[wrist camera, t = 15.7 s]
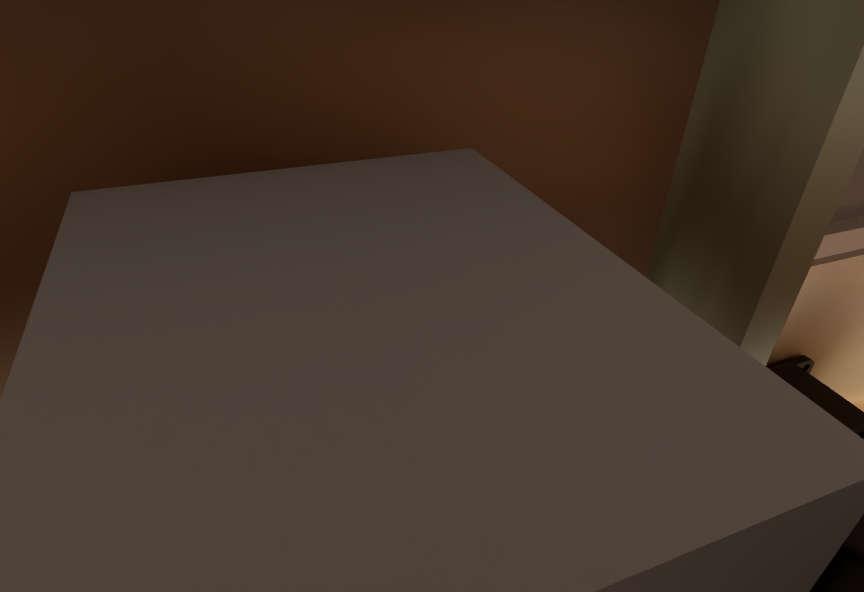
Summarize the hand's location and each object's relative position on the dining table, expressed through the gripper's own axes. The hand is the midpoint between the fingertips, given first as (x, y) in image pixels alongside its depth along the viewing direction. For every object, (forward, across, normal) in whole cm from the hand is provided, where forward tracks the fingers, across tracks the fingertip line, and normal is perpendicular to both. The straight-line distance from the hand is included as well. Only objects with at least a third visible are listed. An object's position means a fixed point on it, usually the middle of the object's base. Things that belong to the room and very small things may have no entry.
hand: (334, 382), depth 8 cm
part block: (+1, 0, 0) cm, 1 cm away
